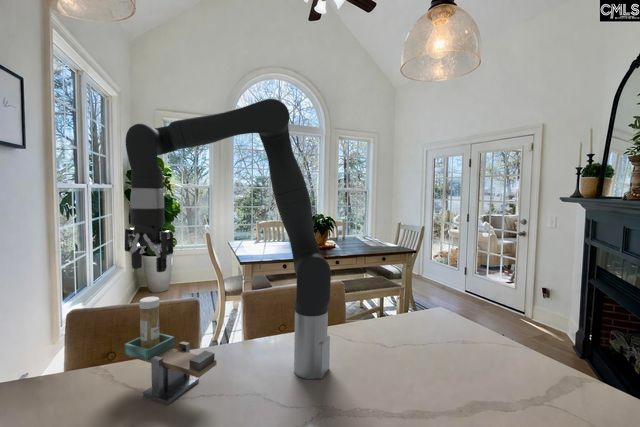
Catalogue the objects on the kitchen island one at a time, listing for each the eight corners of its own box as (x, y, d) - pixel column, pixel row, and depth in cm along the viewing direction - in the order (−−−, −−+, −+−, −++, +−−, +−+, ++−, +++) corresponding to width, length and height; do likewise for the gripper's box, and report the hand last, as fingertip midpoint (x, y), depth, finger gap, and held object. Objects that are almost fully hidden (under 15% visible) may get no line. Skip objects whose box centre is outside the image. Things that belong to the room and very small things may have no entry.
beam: (219, 362, 80) (219, 348, 79) (195, 380, 72) (195, 364, 72) (152, 344, 88) (152, 331, 88) (124, 358, 81) (123, 343, 80)
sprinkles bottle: (160, 351, 82) (160, 299, 81) (140, 355, 80) (140, 302, 79) (158, 343, 86) (158, 294, 85) (139, 348, 84) (138, 297, 83)
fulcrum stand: (198, 382, 84) (198, 344, 83) (167, 405, 74) (166, 363, 74) (175, 375, 87) (175, 339, 86) (142, 396, 78) (142, 356, 77)
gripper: (180, 207, 81) (181, 269, 82) (140, 205, 87) (141, 264, 88) (155, 208, 74) (156, 276, 75) (113, 206, 80) (115, 270, 81)
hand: (148, 270), depth 82 cm, fingers open, 8 cm apart
